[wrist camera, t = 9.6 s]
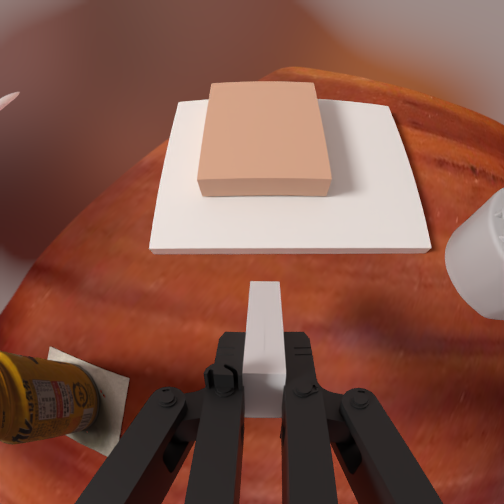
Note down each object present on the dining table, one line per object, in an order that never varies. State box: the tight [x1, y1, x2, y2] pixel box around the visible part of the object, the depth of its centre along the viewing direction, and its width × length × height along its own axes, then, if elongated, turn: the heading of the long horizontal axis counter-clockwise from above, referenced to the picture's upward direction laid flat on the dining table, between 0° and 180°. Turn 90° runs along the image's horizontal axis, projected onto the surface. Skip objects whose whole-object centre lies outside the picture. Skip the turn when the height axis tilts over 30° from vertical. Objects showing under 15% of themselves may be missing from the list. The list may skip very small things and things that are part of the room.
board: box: [149, 99, 431, 254], centre depth 26 cm, size 23×17×1 cm
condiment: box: [0, 347, 129, 456], centre depth 14 cm, size 7×8×12 cm
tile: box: [197, 82, 332, 197], centre depth 25 cm, size 10×3×12 cm
